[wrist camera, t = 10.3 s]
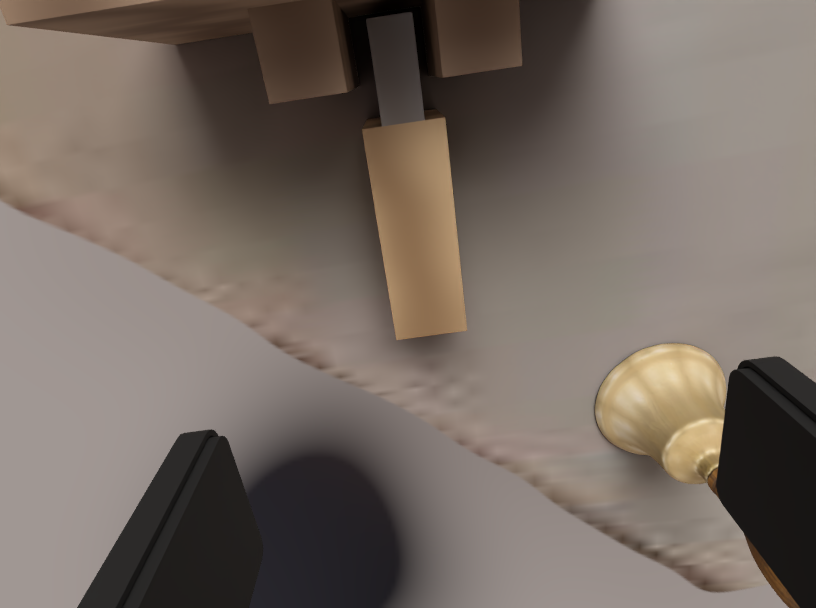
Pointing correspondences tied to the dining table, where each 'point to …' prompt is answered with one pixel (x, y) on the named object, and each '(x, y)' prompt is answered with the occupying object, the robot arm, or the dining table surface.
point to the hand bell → (672, 418)
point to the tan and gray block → (412, 189)
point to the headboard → (293, 33)
